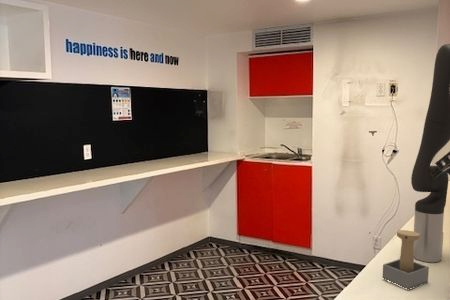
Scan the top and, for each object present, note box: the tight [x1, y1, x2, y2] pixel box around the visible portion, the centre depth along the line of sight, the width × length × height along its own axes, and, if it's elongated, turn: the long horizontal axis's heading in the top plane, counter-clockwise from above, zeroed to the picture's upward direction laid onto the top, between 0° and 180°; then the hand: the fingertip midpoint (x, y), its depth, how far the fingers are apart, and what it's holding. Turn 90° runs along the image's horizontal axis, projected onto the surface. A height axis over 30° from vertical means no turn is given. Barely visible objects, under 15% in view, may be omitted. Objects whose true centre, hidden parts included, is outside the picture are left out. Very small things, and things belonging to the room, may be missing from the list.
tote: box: [382, 258, 430, 289], centre depth 132 cm, size 10×9×5 cm
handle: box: [396, 229, 420, 274], centre depth 131 cm, size 5×6×15 cm
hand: (440, 174), depth 124 cm, fingers open, 8 cm apart
